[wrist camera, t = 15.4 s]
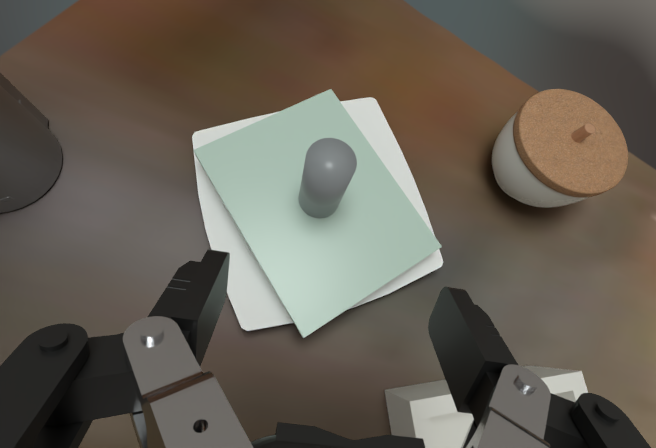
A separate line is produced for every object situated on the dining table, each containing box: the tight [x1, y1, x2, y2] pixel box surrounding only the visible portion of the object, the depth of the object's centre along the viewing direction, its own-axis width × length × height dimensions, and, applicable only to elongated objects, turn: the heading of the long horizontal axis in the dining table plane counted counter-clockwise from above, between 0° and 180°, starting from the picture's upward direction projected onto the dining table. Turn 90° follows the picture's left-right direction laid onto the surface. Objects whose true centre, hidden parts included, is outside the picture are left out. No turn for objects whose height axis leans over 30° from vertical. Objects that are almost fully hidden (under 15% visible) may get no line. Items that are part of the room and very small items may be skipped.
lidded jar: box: [492, 89, 628, 208], centre depth 35 cm, size 11×11×9 cm
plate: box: [192, 97, 443, 331], centre depth 34 cm, size 20×20×3 cm
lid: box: [194, 89, 442, 338], centre depth 28 cm, size 18×14×9 cm
